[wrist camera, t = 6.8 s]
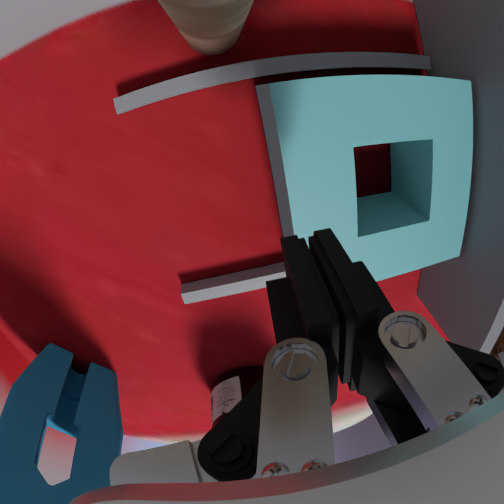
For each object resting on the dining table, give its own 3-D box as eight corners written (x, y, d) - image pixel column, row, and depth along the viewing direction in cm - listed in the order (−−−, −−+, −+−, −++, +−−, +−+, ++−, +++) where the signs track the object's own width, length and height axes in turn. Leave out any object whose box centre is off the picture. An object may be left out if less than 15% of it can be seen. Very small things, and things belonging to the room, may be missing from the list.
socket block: (423, 75, 15) (470, 80, 11) (424, 224, 21) (459, 255, 17) (255, 85, 15) (268, 83, 11) (286, 257, 22) (302, 300, 17)
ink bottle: (209, 361, 27) (213, 478, 17) (298, 358, 28) (327, 466, 18) (211, 408, 32) (216, 499, 22) (283, 405, 33) (300, 491, 23)
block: (33, 357, 26) (-12, 506, 8) (34, 333, 24) (-24, 502, 7) (122, 397, 30) (107, 551, 13) (133, 378, 28) (117, 556, 11)
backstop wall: (427, -16, 11) (526, -34, 3) (432, 289, 26) (485, 360, 17) (100, 10, 11) (8, -33, 3) (209, 347, 26) (212, 447, 17)
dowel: (234, 3, 13) (262, -111, 2) (245, 49, 14) (293, -21, 4) (180, 15, 13) (122, -85, 2) (190, 60, 14) (137, 8, 4)
